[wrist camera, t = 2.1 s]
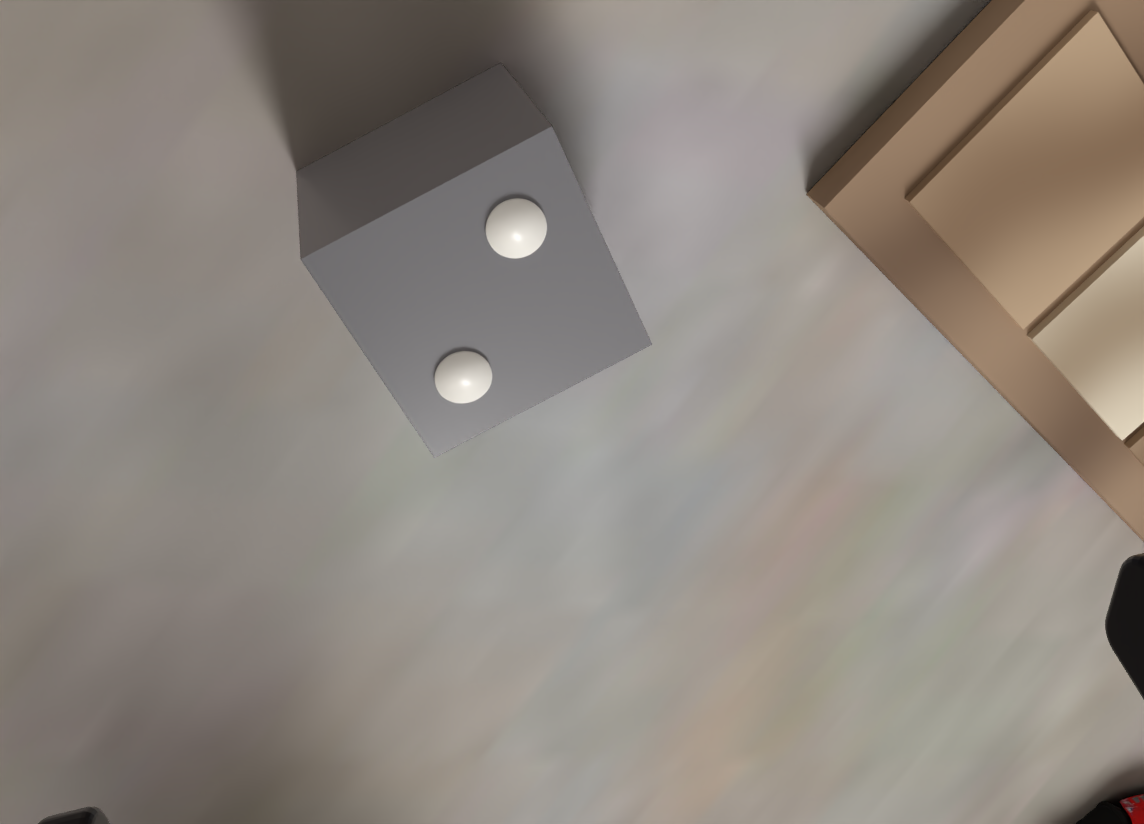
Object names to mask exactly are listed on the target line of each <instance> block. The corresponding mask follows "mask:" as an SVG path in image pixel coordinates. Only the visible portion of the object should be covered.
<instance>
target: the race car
mask: <svg viewBox="0 0 1144 824" xmlns="http://www.w3.org/2000/svg"><path fill="white" fill-rule="evenodd" d="M1120 803H1121V805H1122V806H1123V808H1124V809H1125V810H1126V811H1127V812H1126V811H1125V810H1123V809H1121V808H1119V807H1117V806H1115V805H1113V804H1111V803H1108V802H1100V803H1099V804H1098V805H1097V806H1096V808H1094V809H1093V810H1092V811H1091V812H1090V813H1089V814H1087V815H1086V816H1085V817H1084V818H1083V819H1081V820H1079V821H1078V822H1077V823H1076V824H1144V794H1140V795H1136V796H1132V797H1129V798H1126V799H1123V800H1121V801H1120Z"/></svg>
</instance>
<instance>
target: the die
mask: <svg viewBox="0 0 1144 824" xmlns="http://www.w3.org/2000/svg"><path fill="white" fill-rule="evenodd" d="M296 177H297V197H298V217H299V237H300V257H301V261H302V262H303V263H304V265H305V266H306V268H307V269H308V271H309V272H310V274H311V275H312V277H313V278H314V280H315V281H316V283H317V284H318V286H319V287H320V289H321V290H322V292H323V293H324V295H325V296H326V298H327V299H328V301H329V302H330V304H331V305H332V307H333V308H334V310H335V311H336V313H337V314H338V316H339V317H340V318H341V320H342V321H343V323H344V324H345V326H346V327H347V329H348V330H349V332H350V333H351V335H352V336H353V338H354V339H355V341H356V342H357V344H358V345H359V347H360V348H361V350H362V351H363V353H364V354H365V356H366V357H367V359H368V360H369V362H370V363H371V365H372V366H373V368H374V369H375V371H376V372H377V374H378V375H379V376H380V378H381V379H382V381H383V382H384V384H385V385H386V387H387V388H388V390H389V391H390V393H391V394H392V396H393V397H394V399H395V400H396V402H397V403H398V405H399V406H400V408H401V409H402V411H403V412H404V414H405V415H406V417H407V418H408V420H409V421H410V423H411V424H412V426H413V427H414V429H415V430H416V431H417V433H418V434H419V436H420V437H421V439H422V440H423V442H424V443H425V445H426V446H427V448H428V449H429V451H430V452H431V454H432V455H433V457H434V458H435V457H437V456H439V455H441V454H443V453H445V452H447V451H449V450H450V449H452V448H454V447H456V446H458V445H460V444H462V443H464V442H466V441H468V440H470V439H472V438H473V437H475V436H477V435H479V434H481V433H483V432H485V431H487V430H489V429H491V428H493V427H495V426H497V425H498V424H500V423H502V422H504V421H506V420H508V419H510V418H512V417H514V416H516V415H518V414H520V413H521V412H523V411H525V410H527V409H529V408H531V407H533V406H535V405H537V404H539V403H541V402H543V401H545V400H546V399H548V398H550V397H552V396H554V395H556V394H558V393H560V392H562V391H564V390H566V389H568V388H569V387H571V386H573V385H575V384H577V383H579V382H581V381H583V380H585V379H587V378H589V377H591V376H593V375H594V374H596V373H598V372H600V371H602V370H604V369H606V368H608V367H610V366H612V365H614V364H616V363H617V362H619V361H621V360H623V359H625V358H627V357H629V356H631V355H633V354H635V353H637V352H639V351H641V350H642V349H644V348H646V347H648V346H650V345H652V343H651V341H650V338H649V336H648V334H647V332H646V330H645V328H644V325H643V323H642V321H641V319H640V317H639V314H638V312H637V310H636V308H635V306H634V304H633V301H632V299H631V297H630V295H629V293H628V291H627V288H626V286H625V284H624V282H623V280H622V277H621V275H620V273H619V271H618V269H617V267H616V264H615V262H614V260H613V258H612V256H611V253H610V251H609V249H608V247H607V245H606V243H605V240H604V238H603V236H602V234H601V232H600V230H599V227H598V225H597V223H596V221H595V219H594V216H593V214H592V212H591V210H590V208H589V206H588V203H587V201H586V199H585V197H584V195H583V193H582V190H581V188H580V186H579V184H578V182H577V179H576V177H575V175H574V173H573V171H572V169H571V166H570V164H569V162H568V160H567V158H566V156H565V153H564V151H563V149H562V147H561V145H560V142H559V140H558V138H557V136H556V134H555V132H554V129H553V127H552V126H551V124H550V123H549V122H548V121H547V119H546V118H545V117H544V116H543V114H542V113H541V112H540V111H539V109H538V108H537V107H536V106H535V104H534V103H533V102H532V101H531V99H530V98H529V97H528V96H527V94H526V93H525V92H524V91H523V89H522V88H521V87H520V86H519V84H518V83H517V82H516V81H515V79H514V78H513V77H512V76H511V74H510V73H509V72H508V71H507V69H506V68H505V67H504V66H503V65H502V63H499V64H497V65H495V66H494V67H492V68H490V69H488V70H486V71H484V72H482V73H480V74H478V75H477V76H475V77H473V78H471V79H469V80H467V81H465V82H463V83H462V84H460V85H458V86H456V87H454V88H452V89H450V90H448V91H447V92H445V93H443V94H441V95H439V96H437V97H435V98H433V99H432V100H430V101H428V102H426V103H424V104H422V105H420V106H418V107H417V108H415V109H413V110H411V111H409V112H407V113H405V114H403V115H402V116H400V117H398V118H396V119H394V120H392V121H390V122H388V123H387V124H385V125H383V126H381V127H379V128H377V129H375V130H373V131H371V132H370V133H368V134H366V135H364V136H362V137H360V138H358V139H356V140H355V141H353V142H351V143H349V144H347V145H345V146H343V147H341V148H340V149H338V150H336V151H334V152H332V153H330V154H328V155H326V156H325V157H323V158H321V159H319V160H317V161H315V162H313V163H311V164H310V165H308V166H306V167H304V168H302V169H300V170H298V171H296Z"/></svg>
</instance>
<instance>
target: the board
mask: <svg viewBox="0 0 1144 824" xmlns="http://www.w3.org/2000/svg"><path fill="white" fill-rule="evenodd" d="M806 195H807V196H808V197H809V198H810V199H811V200H812V201H813V202H814V203H815V204H816V205H817V206H818V207H819V208H820V209H821V210H822V211H823V212H824V213H825V214H826V215H827V216H828V217H829V218H830V219H831V220H832V221H833V222H834V223H835V224H836V226H837V227H838V228H839V229H840V230H841V231H842V232H843V233H844V234H845V235H846V236H847V237H848V238H849V239H850V240H851V241H852V242H853V243H854V244H855V245H856V246H857V247H858V248H859V249H860V250H861V251H862V252H863V253H864V254H865V255H866V256H867V257H868V258H869V259H870V261H871V262H872V263H873V264H874V265H875V266H876V267H877V268H878V269H879V270H880V271H881V272H882V273H883V274H884V275H885V276H886V277H887V278H888V279H889V280H890V281H891V282H892V283H893V284H894V285H895V286H896V287H897V288H898V289H899V290H900V291H901V292H902V293H903V294H904V296H905V297H906V298H907V299H908V300H909V301H910V302H911V303H912V304H913V305H914V306H915V307H916V308H917V309H918V310H919V311H920V312H921V313H922V314H923V315H924V316H925V317H926V318H927V319H928V320H929V321H930V322H931V323H932V324H933V325H934V326H935V327H936V328H937V329H938V331H939V332H940V333H941V334H942V335H943V336H944V337H945V338H946V339H947V340H948V341H949V342H950V343H951V344H952V345H953V346H954V347H955V348H956V349H957V350H958V351H959V352H960V353H961V354H962V355H963V356H964V357H965V358H966V359H967V360H968V361H969V362H970V363H971V364H972V366H973V367H974V368H975V369H976V370H977V371H978V372H979V373H980V374H981V375H982V376H983V377H984V378H985V379H986V380H987V381H988V382H989V383H990V384H991V385H992V386H993V387H994V388H995V389H996V390H997V391H998V392H999V393H1000V394H1001V395H1002V396H1003V397H1004V398H1005V399H1006V401H1007V402H1008V403H1009V404H1010V405H1011V406H1012V407H1013V408H1014V409H1015V410H1016V411H1017V412H1018V413H1019V414H1020V415H1021V416H1022V417H1023V418H1024V419H1025V420H1026V421H1027V422H1028V423H1029V424H1030V425H1031V426H1032V427H1033V428H1034V429H1035V430H1036V431H1037V432H1038V433H1039V434H1040V436H1041V437H1042V438H1043V439H1044V440H1045V441H1046V442H1047V443H1048V444H1049V445H1050V446H1051V447H1052V448H1053V449H1054V450H1055V451H1056V452H1057V453H1058V454H1059V455H1060V456H1061V457H1062V458H1063V459H1064V460H1065V461H1066V462H1067V463H1068V464H1069V465H1070V466H1071V467H1072V468H1073V469H1074V471H1075V472H1076V473H1077V474H1078V475H1079V476H1080V477H1081V478H1082V479H1083V480H1084V481H1085V482H1086V483H1087V484H1088V485H1089V486H1090V487H1091V488H1092V489H1093V490H1094V491H1095V492H1096V493H1097V494H1098V495H1099V496H1100V497H1101V498H1102V499H1103V500H1104V501H1105V502H1106V503H1107V504H1108V506H1109V507H1110V508H1111V509H1112V510H1113V511H1114V512H1115V513H1116V514H1117V515H1118V516H1119V517H1120V518H1121V519H1122V520H1123V521H1124V522H1125V523H1126V524H1127V525H1128V526H1129V527H1130V528H1131V529H1132V530H1133V531H1134V532H1135V533H1136V534H1137V535H1138V536H1139V537H1140V538H1141V539H1142V541H1143V542H1144V0H992V1H991V2H990V3H989V4H988V5H987V6H986V7H985V8H984V9H983V10H982V11H981V12H980V13H979V14H978V15H977V16H976V17H975V18H974V19H973V20H972V21H971V22H970V24H969V25H968V26H967V27H966V28H965V29H964V30H963V31H962V32H961V33H960V34H959V35H958V36H957V37H956V38H955V39H954V40H953V41H952V42H951V43H950V44H949V45H948V47H947V48H946V49H945V50H944V51H943V52H942V53H941V54H940V55H939V56H938V57H937V58H936V59H935V60H934V61H933V62H932V63H931V64H930V65H929V66H928V67H927V68H926V70H925V71H924V72H923V73H922V74H921V75H920V76H919V77H918V78H917V79H916V80H915V81H914V82H913V83H912V84H911V85H910V86H909V87H908V88H907V89H906V90H905V91H904V93H903V94H902V95H901V96H900V97H899V98H898V99H897V100H896V101H895V102H894V103H893V104H892V105H891V106H890V107H889V108H888V109H887V110H886V111H885V112H884V113H883V114H882V116H881V117H880V118H879V119H878V120H877V121H876V122H875V123H874V124H873V125H872V126H871V127H870V128H869V129H868V130H867V131H866V132H865V133H864V134H863V135H862V136H861V137H860V139H859V140H858V141H857V142H856V143H855V144H854V145H853V146H852V147H851V148H850V149H849V150H848V151H847V152H846V153H845V154H844V155H843V156H842V157H841V158H840V159H839V160H838V162H837V163H836V164H835V165H834V166H833V167H832V168H831V169H830V170H829V171H828V172H827V173H826V174H825V175H824V176H823V177H822V178H821V179H820V180H819V181H818V182H817V183H816V185H815V186H814V187H813V188H812V189H811V190H810V191H809V192H808V193H807V194H806Z"/></svg>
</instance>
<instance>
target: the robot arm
mask: <svg viewBox="0 0 1144 824" xmlns="http://www.w3.org/2000/svg"><path fill="white" fill-rule="evenodd" d="M1105 630H1106V634H1107V638H1108V641H1109V643H1110V645H1111V647H1112V649H1113V651H1114V653H1115V654H1116V656H1117V657H1118V659H1119V661H1120V662H1121V664H1122V665H1123V667H1124V669H1125V670H1126V672H1127V673H1128V675H1129V677H1130V678H1131V680H1132V681H1133V683H1134V685H1135V686H1136V688H1137V689H1138V691H1139V693H1140V694H1141V696H1142V697H1143V699H1144V553H1142V554H1138V555H1134V556H1131V557H1129V558H1128V559H1127V560H1126V561H1125V562H1124V563H1123V564H1122V566H1121V568H1120V571H1119V574H1118V578H1117V581H1116V585H1115V588H1114V592H1113V595H1112V598H1111V602H1110V605H1109V609H1108V612H1107V616H1106V620H1105ZM38 824H110V823H109V821H108V819H107V817H106V815H105V814H104V813H103V811H101V810H100V809H99V808H97V807H85V808H81V809H77V810H73V811H69V812H65V813H60V814H56V815H52V816H49V817H47V818H45V819H43V820H42V821H40V822H39V823H38Z"/></svg>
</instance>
